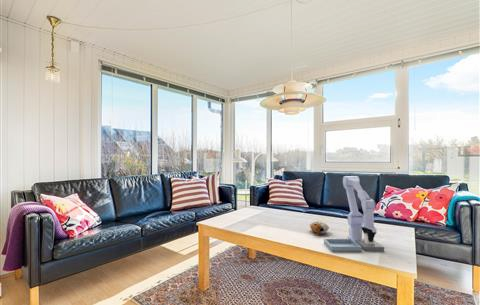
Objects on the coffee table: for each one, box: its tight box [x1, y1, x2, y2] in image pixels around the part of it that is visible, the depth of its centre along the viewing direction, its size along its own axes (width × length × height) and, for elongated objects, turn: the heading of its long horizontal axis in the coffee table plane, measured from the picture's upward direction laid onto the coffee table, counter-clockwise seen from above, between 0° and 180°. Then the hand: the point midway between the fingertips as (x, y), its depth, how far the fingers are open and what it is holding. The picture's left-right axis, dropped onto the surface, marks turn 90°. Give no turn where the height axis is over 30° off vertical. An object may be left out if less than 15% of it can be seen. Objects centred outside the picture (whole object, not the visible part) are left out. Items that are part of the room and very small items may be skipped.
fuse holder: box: [355, 240, 385, 252], centre depth 151 cm, size 12×12×2 cm
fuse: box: [363, 233, 375, 245], centre depth 151 cm, size 4×4×7 cm
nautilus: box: [309, 221, 330, 237], centre depth 180 cm, size 8×22×15 cm
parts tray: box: [323, 238, 363, 253], centre depth 151 cm, size 14×18×3 cm
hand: (368, 240), depth 151 cm, fingers closed on fuse, 4 cm apart
